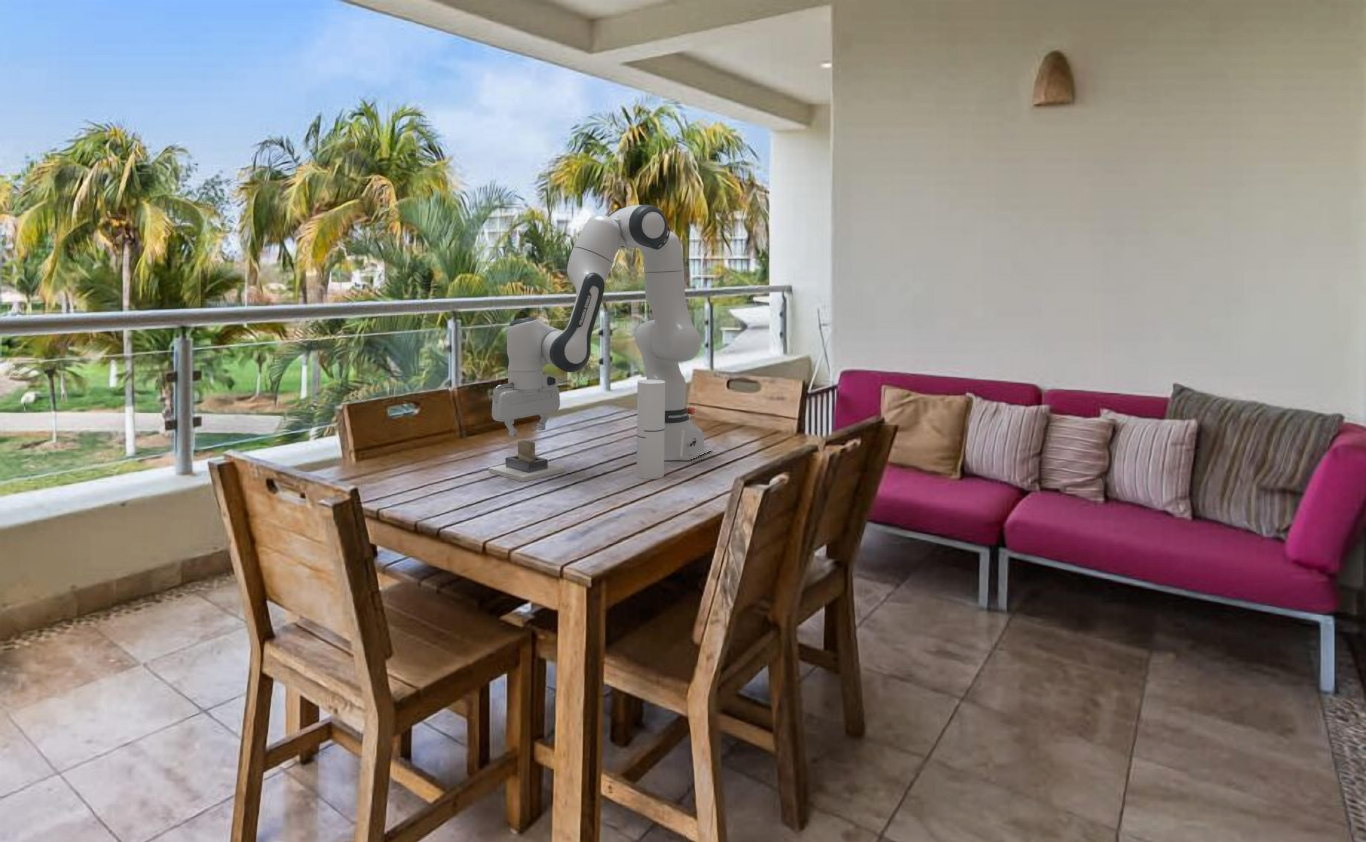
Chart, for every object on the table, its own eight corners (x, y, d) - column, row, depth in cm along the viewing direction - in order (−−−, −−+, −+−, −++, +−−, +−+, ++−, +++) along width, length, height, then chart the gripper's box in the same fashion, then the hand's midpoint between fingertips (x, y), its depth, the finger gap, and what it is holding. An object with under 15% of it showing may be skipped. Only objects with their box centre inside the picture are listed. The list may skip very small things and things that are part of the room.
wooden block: (524, 465, 217) (523, 439, 216) (535, 468, 214) (534, 442, 213) (518, 466, 216) (517, 441, 214) (529, 469, 213) (528, 443, 212)
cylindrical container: (660, 479, 210) (661, 384, 205) (633, 477, 212) (634, 382, 207) (666, 473, 217) (667, 380, 212) (640, 471, 218) (641, 379, 214)
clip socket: (524, 462, 220) (524, 453, 220) (547, 468, 215) (547, 459, 214) (505, 466, 216) (505, 457, 215) (528, 473, 210) (528, 463, 209)
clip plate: (530, 463, 225) (529, 458, 225) (564, 471, 216) (564, 467, 216) (488, 472, 214) (488, 467, 214) (523, 482, 206) (522, 477, 205)
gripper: (501, 386, 201) (503, 441, 204) (562, 377, 216) (564, 428, 219) (485, 384, 205) (487, 437, 208) (547, 375, 220) (548, 425, 223)
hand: (527, 432), depth 214 cm, fingers open, 8 cm apart
